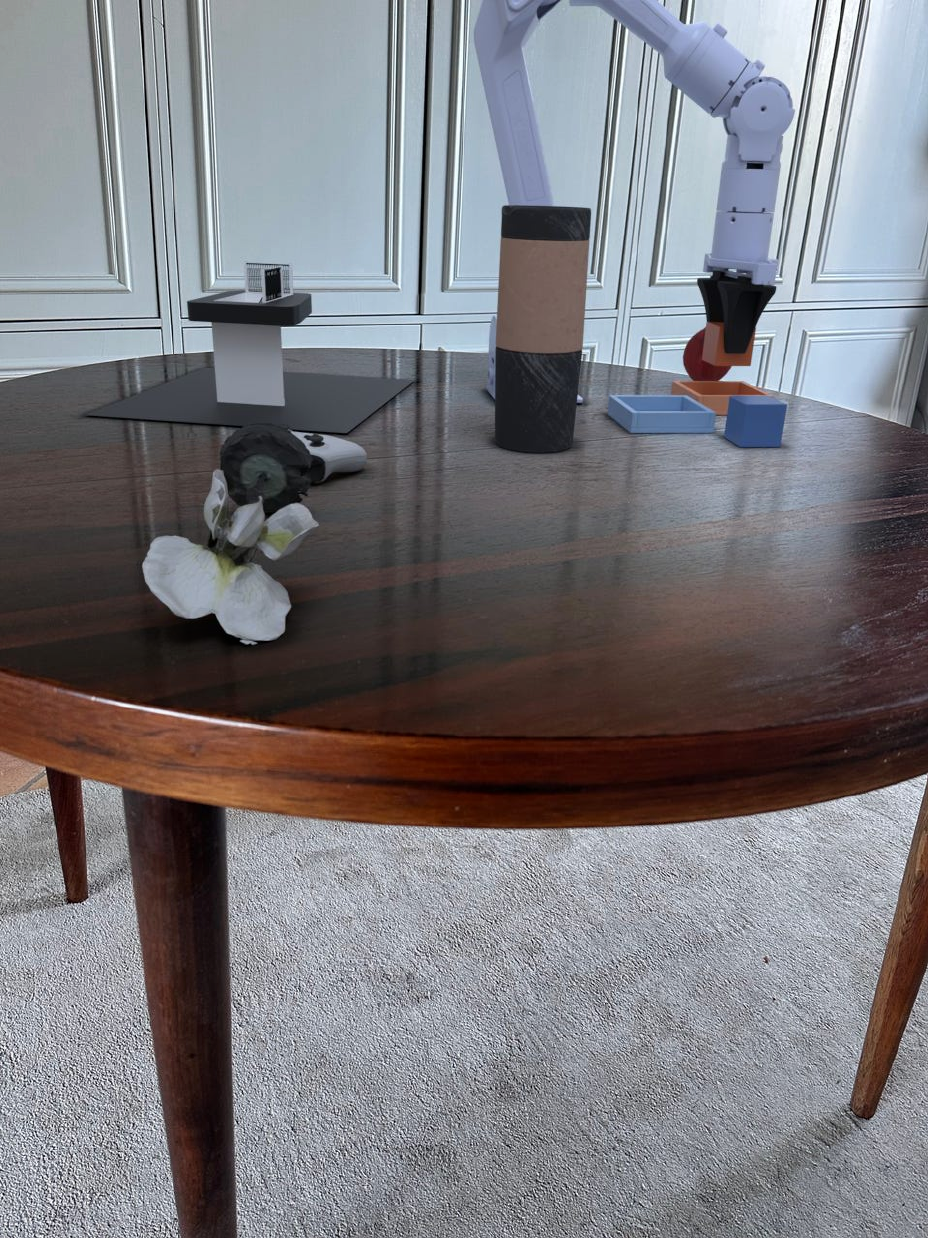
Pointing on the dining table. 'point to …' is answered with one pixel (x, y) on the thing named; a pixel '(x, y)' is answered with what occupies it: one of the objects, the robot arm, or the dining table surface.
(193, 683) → the dining table surface
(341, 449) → the game controller
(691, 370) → the onion
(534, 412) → the travel mug
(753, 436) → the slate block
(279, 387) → the black-topped pedestal
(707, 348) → the rust block
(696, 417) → the slate tray
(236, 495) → the artificial flower
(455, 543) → the dining table surface
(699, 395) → the terracotta tray
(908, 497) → the dining table surface
